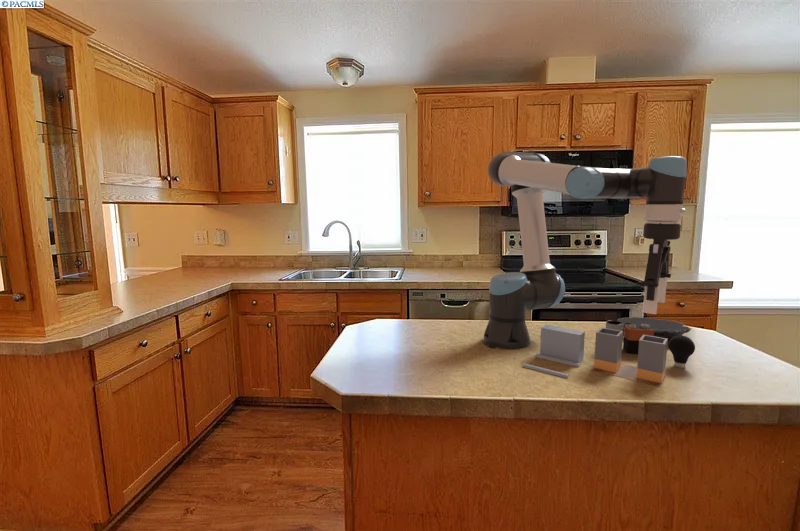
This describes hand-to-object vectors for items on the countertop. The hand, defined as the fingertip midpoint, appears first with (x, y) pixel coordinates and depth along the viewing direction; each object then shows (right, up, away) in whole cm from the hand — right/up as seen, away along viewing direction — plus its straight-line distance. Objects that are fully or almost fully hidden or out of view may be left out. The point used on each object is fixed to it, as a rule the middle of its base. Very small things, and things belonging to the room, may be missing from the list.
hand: (654, 307), depth 98 cm
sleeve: (0, -18, +2) cm, 18 cm away
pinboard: (-3, -19, +6) cm, 20 cm away
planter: (+1, -17, +21) cm, 27 cm away
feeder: (-20, -19, +12) cm, 30 cm away
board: (+25, -14, +39) cm, 49 cm away
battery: (+8, -17, +20) cm, 27 cm away
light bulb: (+13, -19, +9) cm, 24 cm away
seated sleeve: (-7, -17, +9) cm, 21 cm away
